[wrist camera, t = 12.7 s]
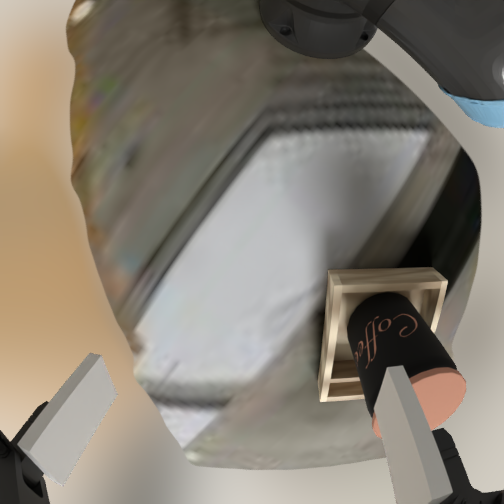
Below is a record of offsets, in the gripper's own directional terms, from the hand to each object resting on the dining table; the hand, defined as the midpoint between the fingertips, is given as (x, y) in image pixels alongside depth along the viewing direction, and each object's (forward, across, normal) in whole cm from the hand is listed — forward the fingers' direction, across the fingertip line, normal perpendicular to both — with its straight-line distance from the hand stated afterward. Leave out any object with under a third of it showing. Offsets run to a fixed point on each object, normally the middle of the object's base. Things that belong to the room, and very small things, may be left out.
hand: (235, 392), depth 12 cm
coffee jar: (+26, +16, -13) cm, 33 cm away
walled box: (+27, +16, -15) cm, 35 cm away
